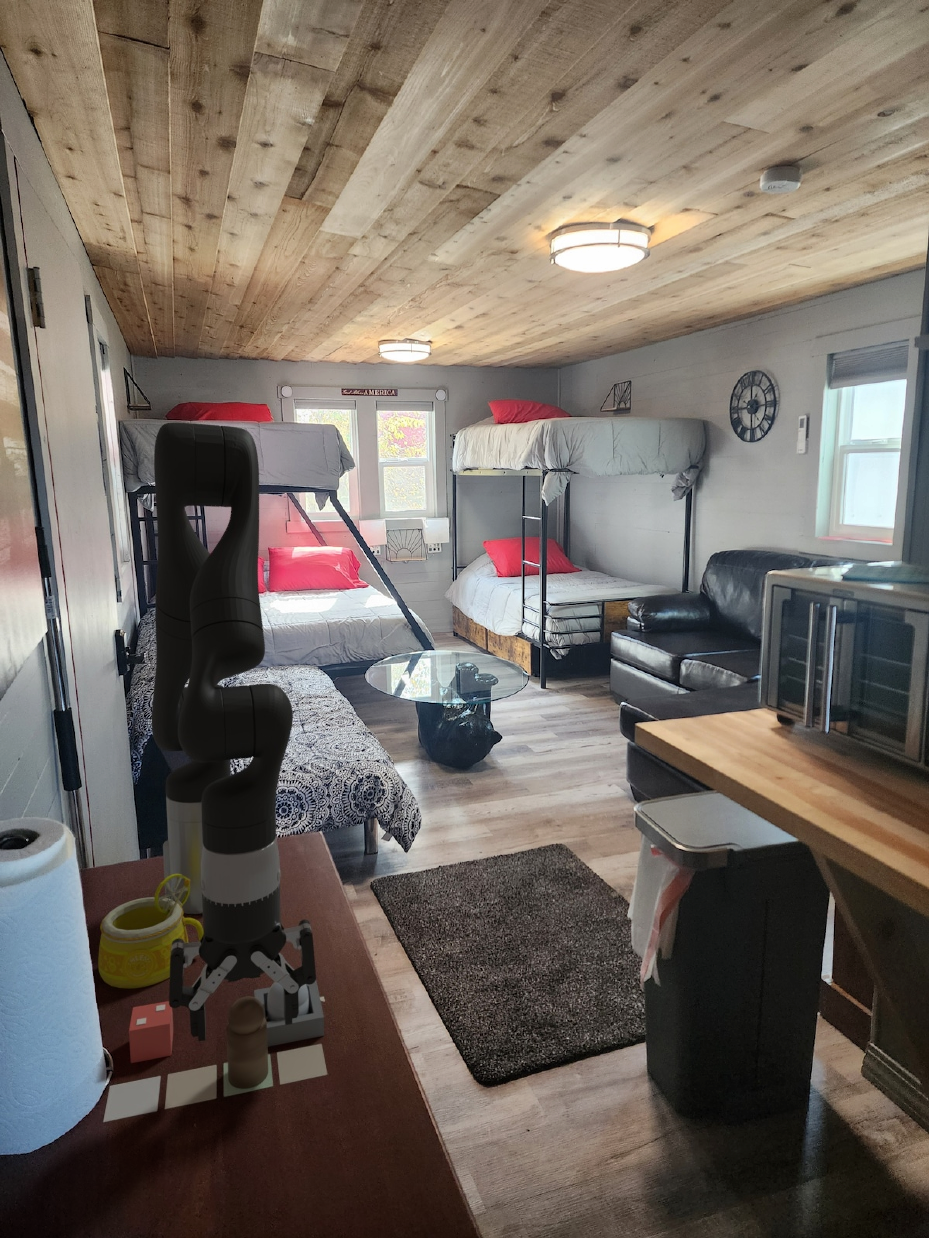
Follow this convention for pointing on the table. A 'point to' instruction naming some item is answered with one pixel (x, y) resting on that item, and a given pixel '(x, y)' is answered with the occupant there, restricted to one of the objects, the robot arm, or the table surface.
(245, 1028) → the brown round-topped cylinder
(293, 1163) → the table surface
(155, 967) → the mug
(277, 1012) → the capsule
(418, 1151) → the table surface
